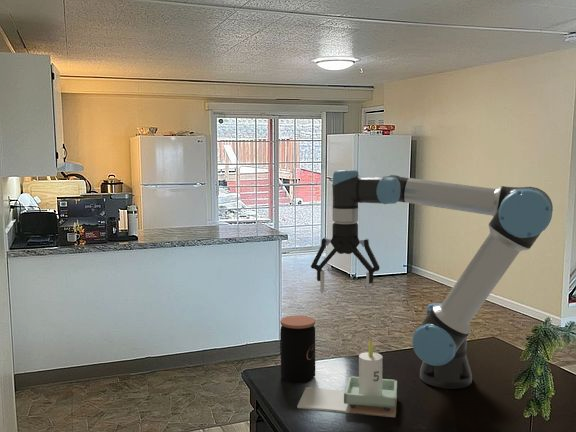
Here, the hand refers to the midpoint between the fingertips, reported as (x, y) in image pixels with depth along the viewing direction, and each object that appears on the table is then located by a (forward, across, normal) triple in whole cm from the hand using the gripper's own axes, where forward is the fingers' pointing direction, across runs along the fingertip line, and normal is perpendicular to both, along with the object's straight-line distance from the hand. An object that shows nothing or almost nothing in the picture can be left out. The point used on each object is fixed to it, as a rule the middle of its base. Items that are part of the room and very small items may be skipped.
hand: (344, 292), depth 163 cm
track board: (+27, -3, +16) cm, 31 cm away
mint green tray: (+27, -9, +16) cm, 32 cm away
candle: (+24, -9, +16) cm, 30 cm away
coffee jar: (+27, +14, +2) cm, 30 cm away
